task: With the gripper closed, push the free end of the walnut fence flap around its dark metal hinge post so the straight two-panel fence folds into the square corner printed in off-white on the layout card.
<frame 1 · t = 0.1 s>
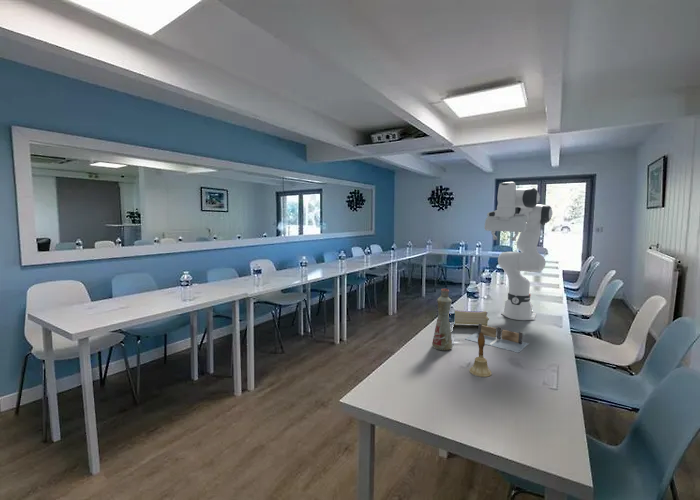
hand: (504, 240, 188), 48 cm above the table, fingers open, 8 cm apart
bottle: (442, 348, 166), on the table
hand bell: (480, 372, 141), on the table
fence flap: (512, 335, 174), point 3 cm above the table, hinge at 90.0°
layout card: (496, 341, 174), on the table
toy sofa: (466, 327, 197), on the table
fence fixed: (498, 338, 178), resting on layout card
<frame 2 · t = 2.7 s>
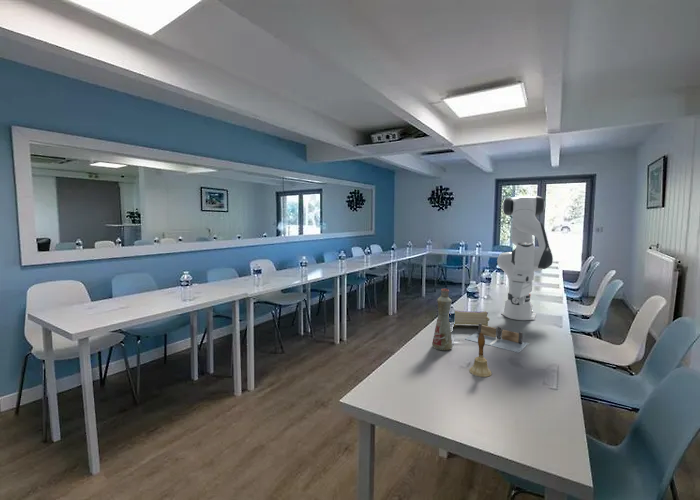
hand: (521, 303, 175), 18 cm above the table, fingers closed
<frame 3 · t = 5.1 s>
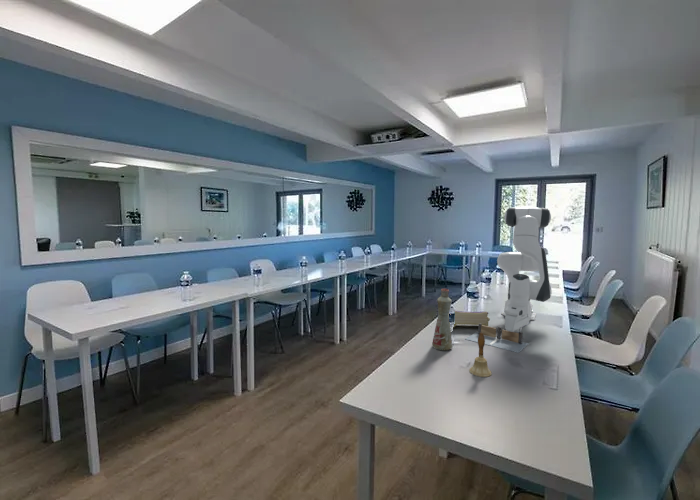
hand: (517, 336, 174), 3 cm above the table, fingers closed
fence flap: (511, 335, 174), point 3 cm above the table, hinge at 89.7°, touching gripper
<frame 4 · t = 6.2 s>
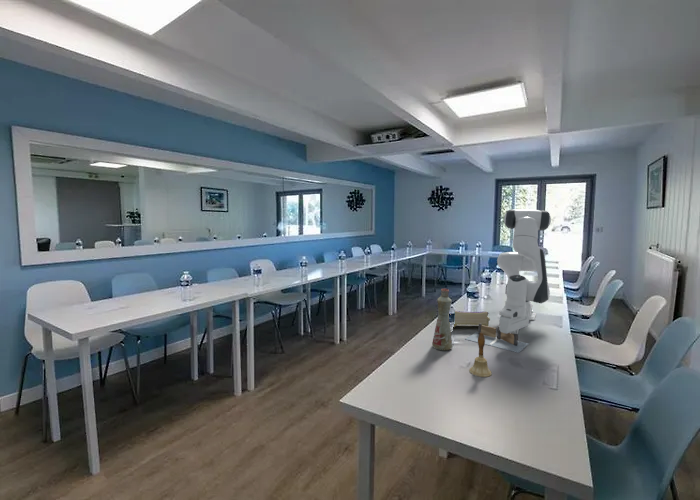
hand: (513, 338, 171), 3 cm above the table, fingers closed
fence flap: (509, 337, 172), point 3 cm above the table, hinge at 66.2°, touching gripper
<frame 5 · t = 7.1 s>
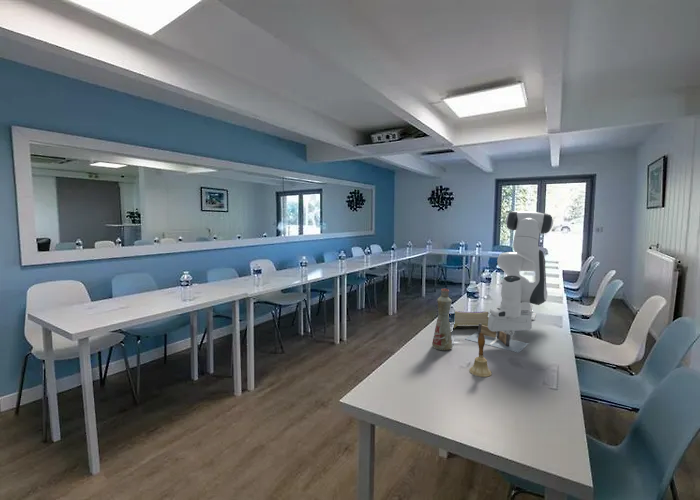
hand: (509, 339, 170), 3 cm above the table, fingers closed
fence flap: (504, 337, 172), point 3 cm above the table, hinge at 41.6°, touching gripper
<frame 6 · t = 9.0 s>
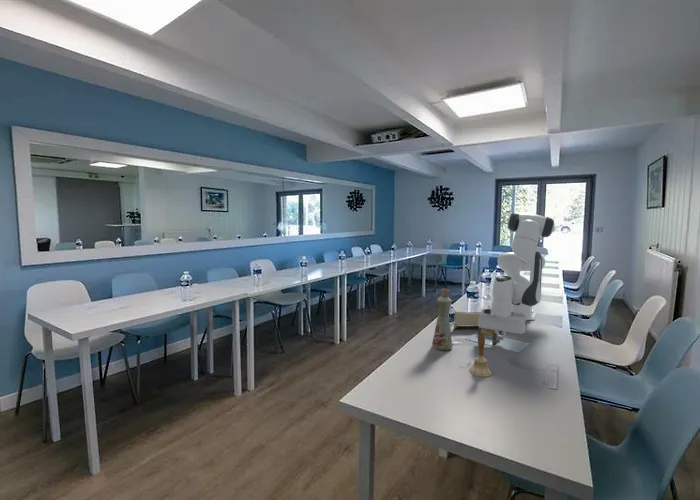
hand: (500, 339, 170), 3 cm above the table, fingers closed
fence flap: (496, 336, 173), point 3 cm above the table, hinge at 7.4°, touching gripper
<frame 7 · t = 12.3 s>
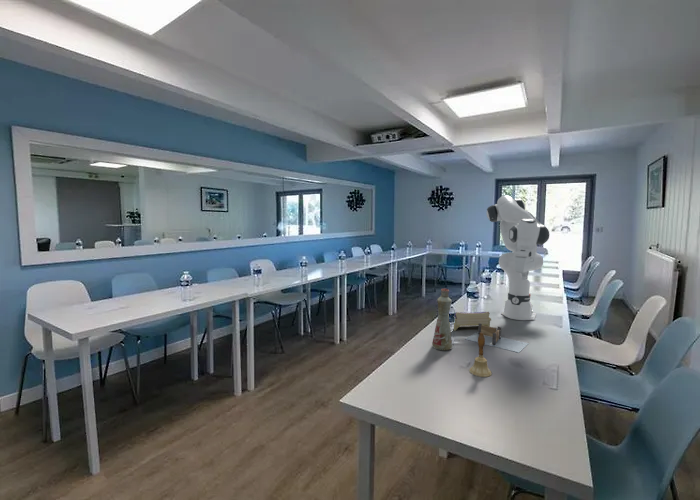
hand: (524, 279, 179), 29 cm above the table, fingers closed
fence flap: (496, 336, 173), point 3 cm above the table, hinge at 7.3°
at the end: fence flap at +7° (first picture: +90°) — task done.
